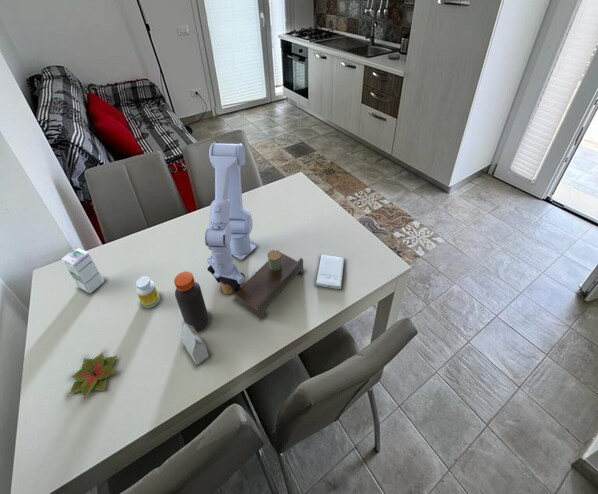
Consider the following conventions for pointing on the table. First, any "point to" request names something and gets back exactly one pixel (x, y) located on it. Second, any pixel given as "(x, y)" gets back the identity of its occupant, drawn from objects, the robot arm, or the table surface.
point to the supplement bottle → (147, 292)
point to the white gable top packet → (194, 344)
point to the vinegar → (191, 301)
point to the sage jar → (274, 260)
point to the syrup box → (83, 270)
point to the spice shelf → (267, 285)
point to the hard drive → (330, 272)
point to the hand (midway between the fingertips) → (228, 286)
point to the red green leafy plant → (93, 374)
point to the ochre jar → (225, 285)
